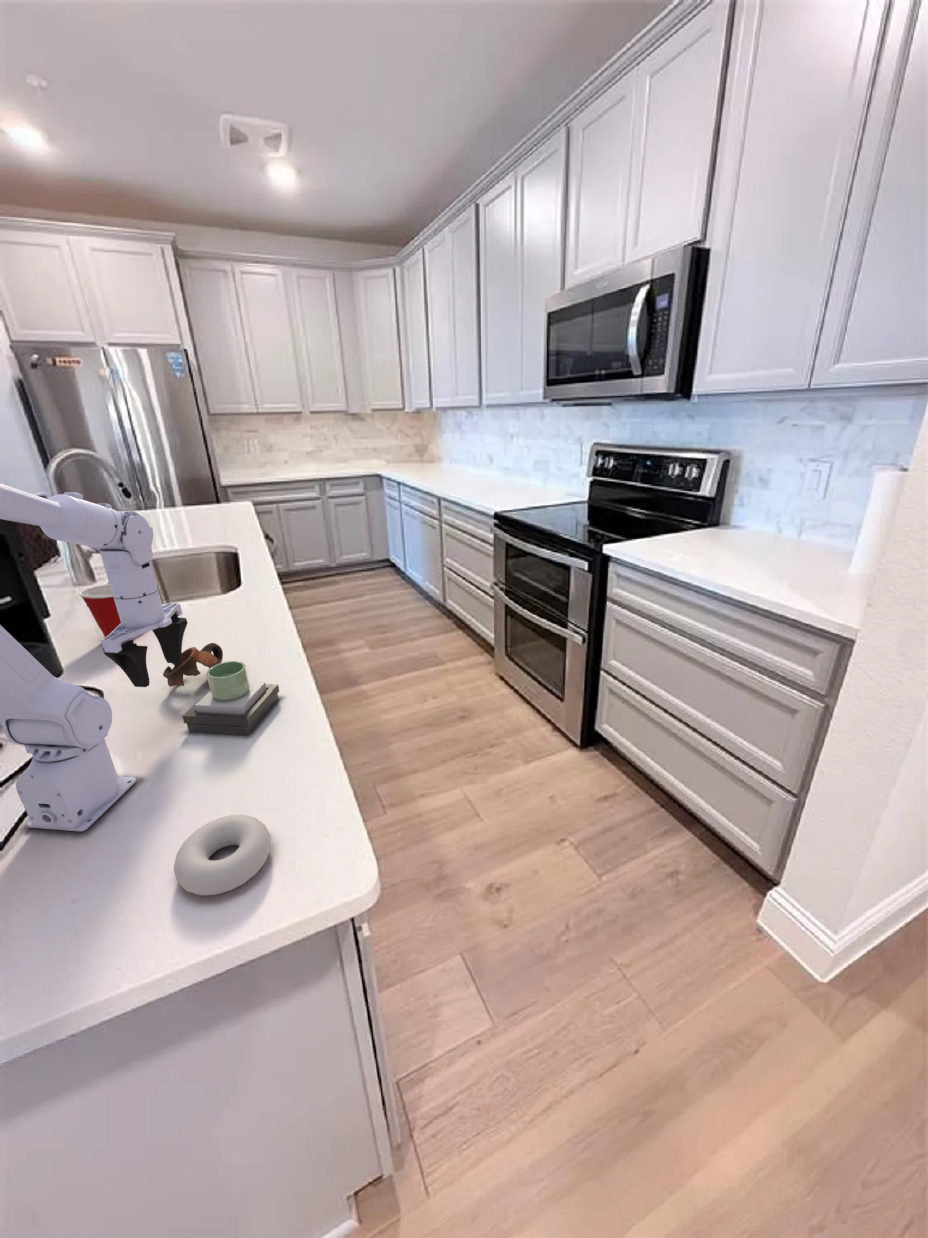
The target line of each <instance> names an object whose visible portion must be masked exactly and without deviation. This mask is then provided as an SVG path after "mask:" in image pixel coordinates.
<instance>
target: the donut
mask: <svg viewBox="0 0 928 1238" xmlns="http://www.w3.org/2000/svg"><path fill="white" fill-rule="evenodd" d="M229 846H238V848H237V849H236V850H235V851H234V852H233V853H232V854H229V855H228V856H226V857H224V858H220V859H217V860H211V859H210V858H211V856H212V855H213V854H214V853H216V852H217V851H218V850H221V849H223V848H225V847H229ZM270 851H271V834H270V831H269V829H268V827H267V826H266V824H265V823H263V822H262V821H261V820H260V819H258V818H256V817H255V816H251V815H247V814H231V815H226V816H222V817H217V818H216V819H213V820H211V821H208V822H207V823H205V824H203V825H202V826H201V827H199V828H197V829H196V830H194V831H193V833H191V834H190V835H189V836H188V837H187V838H186V839H185V840H184V841H183V843H182V844H181V846H180V847H179V849H178V851H177V853H176V855H175V859H174V863H173V871H174V875H175V879H176V881H177V883H178V884H179V886H181V887H182V888H183V889H184V890H185V891H186V892H188V893H192V894H195V895H198V896H217V895H220V894H223V893H227V892H231V891H232V890H234V889H236V888H238V887H241V886H242V885H244V884H245V883H247V882H248V881H249V880H250V879H252V878H253V877H254V876H255V875H256V874H257V873H258V872H259V871H260V870H261V868H262V867H263V866H264V865H265V863H266V861H267V858H268V856H269V854H270Z"/></svg>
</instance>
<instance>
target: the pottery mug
mask: <svg viewBox="0 0 928 1238" xmlns="http://www.w3.org/2000/svg"><path fill="white" fill-rule="evenodd" d="M223 657H224V651H223V649H222V647H221V646H220V645H219V644H218V643H215V642H210V643H207V644H205V645H204V646H203V647H202V649H200V650H199V649H198V648H197V647H195V646H192V647H189V648H187V649H185V650H184V651H182V655H181V662H180V663H171V664H172V665H173V668H172V667H171V666H169V665H168V666H166V668H165V669H164V670H163V672H162V676H163V677H164V678H165V679H166V680H167V686H168V687H176V686H178V685H179V686H182V687H185V683H184V676H186V677H197V676H199V675H201V671H200V670H199V669H198V665H197V663H198V664H201V665H203V666H204V667H206V668H208V670H209V669H210V668H211V667H213V666H215V665H217V664H220V663H223Z"/></svg>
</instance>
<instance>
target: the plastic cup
mask: <svg viewBox="0 0 928 1238" xmlns="http://www.w3.org/2000/svg"><path fill="white" fill-rule="evenodd" d="M78 596H79V597H81V598H82V600H83V602H84V603H85V604H86V605H85V606H86V607H87V608H88V609H89V611H90V613H91V615H92V617H93V619H94V620H95V623H96V624H97V626H98V628H99V630H100V631H101V632H102V634H103V636H104V638H105V637H107V636H108V635H109V634H110V633H111V632H112V631H113V630H114V629H115V628H116V627H117V626H118V625H119V624H120V623H121V621H120V617H119V614H118V611H117V608H116V604H115V601H114V598H113V594H112V591H111V588H110V584H109V583H108V584H101V585H95V586H91V587H90V586H89V587H87V588H83V589H82V590H80V591H79V592H78Z"/></svg>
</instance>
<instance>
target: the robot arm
mask: <svg viewBox="0 0 928 1238" xmlns="http://www.w3.org/2000/svg"><path fill="white" fill-rule="evenodd" d="M0 520H4V521H10V522H14V523H15V522H16V523H21V524H26V525H32V526H37V527H40V530H41V531H42V532H43V533H44V535H45V536H46V537H48V538H49V539H52V540H54V541H59V542H64V543H69V544H74V545H79V546H85V547H88V548H89V549H90V550H91V551H92V552H94V553H98V552H99V554H100V557H101V561H102V564H103V567H104V571H105V574H106V577H107V581H108V584H110V588H111V591H112V594H113V598H114V601H115V604H116V608H117V611H118V614H119V617H120V621H121V623H120V624H119V625H118V626H117V627H116V628H115V629H114V630H113V631H112V632H111V633H110V634H109V635H108V636H107V637H105V636H104V638H102V639H100V642H101V645H102V651H103V654H104V656H106V657H107V658H109V659H110V660H111V661H113V662H114V663H115V664H116V665H117V666H118V667H119V668H120V669H121V670H122V671H123V672H124V673H125V675H126V677H127V678H128V679H129V681H130V682H131V684H132V685H133V687H135V688H147V687H149V686H150V676H149V672H148V671H149V670H148V666H147V652H148V645H138V644H137V643H136V642H134V641H135V640H137V639H139V638H141V637H142V636H144V635H146V634H147V633H149V632H151V631H152V633H153V634H154V636H155V638H156V639H157V641H158V643H159V647H160V649H161V651H162V654H163V658H164V660H165V661H166V663H167V664H172V663H180V662H181V655H182V652H183V641H184V635H185V631H186V628H187V626H188V619H187V618H186V617H180V616H182V615H184V614H183V610H182V605H181V603H180V602H168V603H166V604H163V602H162V599H161V596H160V592H159V588H158V584H157V580H156V577H155V572H154V568H153V565H152V561H153V559H154V558H153V557H154V553H153V549H152V548H153V547H152V545H153V541H154V529H153V527H152V526H150V523H149V521H148V520H147V519H146V518H145V517H144V516H143V515H141V514H139V513H138V512H136V511H132V510H131V511H130V510H127V511H126V510H125V511H124V510H123V511H122V510H116V509H114V508H113V507H112V505H111V504H109V503H105V502H103V503H102V502H101V503H94V502H91V501H88V500H85V499H84V495H83V494H81V493H79V492H74V491H73V492H72V491H71V492H69V491H68V492H67V491H65V492H63V493H60V494H59V493H58V494H54V495H52V496H50V497H48V498H45V497H42V496H39V495H36V494H33V493H30V492H27V491H24V490H21V489H18V488H15V487H12V486H9V485H6V484H4V483H1V482H0ZM112 722H113V710H112V707H111V705H110V703H109V701H107V699H105V698H104V697H102V696H99V695H98V696H97V695H93V694H91V693H89V692H88V691H87V690H86V689H85V688H84V687H82V686H80V685H77V684H74V683H72V682H69V681H66V680H64V679H61V678H58V677H56V676H54V675H53V674H52V673H51V672H50V671H49V670H47V668H46V667H45V666H44V665H42V663H40V661H38V660H37V659H36V658H35V657H34V655H32V653H30V652H29V651H28V650H27V649H26V648H25V647H24V646H23V645H22V644H21V643H20V642H19V641H17V639H15V637H14V636H12V635H11V634H10V632H8V631H7V630H6V629H5V628H4V627H3V626H2V625H1V624H0V725H1V727H2V729H3V733H4V735H5V737H6V738H7V739H8V740H9V741H10V742H11V743H14V744H16V745H19V746H20V745H22V746H24V748H25V751H26V753H27V754H30V755H31V756H32V758H31V762H30V764H29V765H28V767H27V768H26V769H25V770H24V771H23V773H21V775H20V776H19V777H18V778H17V780H16V781H15V789H16V792H17V794H18V797H19V799H20V801H21V803H22V806H23V808H24V810H25V813H26V814H27V816H28V819H29V821H28V822H27V823H26V826H27V827H28V828H33V829H43V830H56V831H69V832H70V831H71V832H85V831H87V830H88V829H89V828H90V827H91V826H92V825H93V824H94V823H95V822H96V821H97V820H98V819H99V818H100V817H101V816H103V814H104V813H106V812H107V810H108V809H109V808H110V807H112V806H113V804H115V803H116V802H117V801H118V800H119V799H120V798H121V797H122V796H124V794H125V793H126V792H127V791H128V790H129V789H130V788H131V787H132V786H133V785H134V784H135V783H136V782H137V781H138V780H137V778H136V777H134V776H120V775H119V776H118V773H117V770H116V767H115V764H114V761H113V758H112V756H111V753H110V750H109V748H108V744H107V742H106V737H108V735H109V731H110V729H111V727H112Z"/></svg>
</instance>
